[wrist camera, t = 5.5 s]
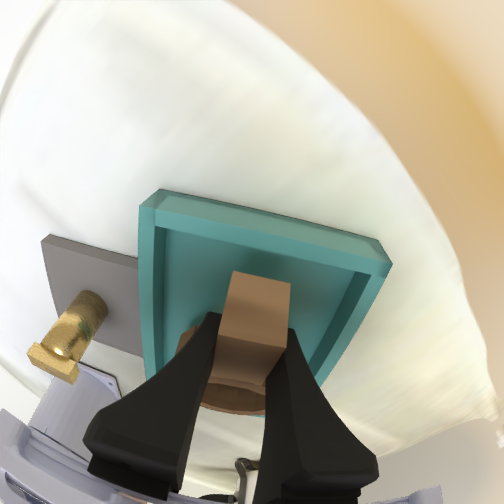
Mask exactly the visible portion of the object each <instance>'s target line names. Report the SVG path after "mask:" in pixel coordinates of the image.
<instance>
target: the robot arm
mask: <svg viewBox="0 0 504 504" xmlns="http://www.w3.org/2000/svg"><path fill="white" fill-rule="evenodd" d="M221 319H222V314H219V313H215V312H211V311H210V312H207V314H206V316H205V318H204V319H203V321H202V323H201V324H200V326H199V327H198V329H197V330H196V331H195V333H194V334H193V335H192V337H191V338H190V339H189V340H188V342H187V343H186V344H185V345H184V346H183V347H182V349H181V350H180V351H179V352H178V353H177V354H176V355H175V356H174V357H173V358H172V359H171V360H170V361H169V362H168V363H167V364H166V365H165V366H164V367H163V368H162V369H161V370H160V371H158V372H157V373H156V374H155V375H154V376H152V377H151V378H150V379H149V380H147V381H146V382H145V383H143V384H142V385H141V386H139V387H138V388H136V389H135V390H133V391H132V392H130V393H129V394H127V395H126V396H124V397H123V398H121V396H120V393H119V390H118V386H117V383H116V380H115V378H114V377H112V376H110V375H107V374H105V373H102V372H100V371H97V370H95V369H92V368H90V367H87V366H85V365H83V364H80V363H77V366H78V368H79V371H80V373H79V375H78V377H77V379H76V381H75V382H74V384H73V385H72V384H70V383H68V382H65V381H63V380H61V379H59V378H57V377H54V379H53V380H52V382H51V384H50V385H49V387H48V389H47V391H46V392H45V394H44V396H43V398H42V399H41V401H40V403H39V405H38V407H37V409H36V410H35V412H34V414H33V416H32V418H31V420H30V422H29V424H28V426H26V425H25V424H24V423H23V422H22V421H20V420H19V419H17V418H16V417H15V416H13V415H12V414H10V413H9V412H8V411H6V410H5V409H1V411H0V500H1V501H2V503H3V504H45V503H46V504H143V503H141V502H138V501H135V500H133V499H130V498H128V497H125V496H123V495H120V494H119V492H121V493H123V494H126V495H129V496H132V497H134V498H137V499H140V500H144V501H147V502H150V503H153V504H228V503H221V502H215V501H209V500H204V499H199V498H194V497H189V496H185V495H181V494H178V493H179V490H181V487H182V482H183V477H184V472H185V468H186V463H187V458H188V453H189V449H190V444H191V440H192V435H193V431H194V426H195V422H196V417H197V413H198V410H199V406H200V404H201V401H202V398H203V395H204V392H205V389H206V386H207V383H208V380H209V377H210V374H211V371H212V368H213V360H214V353H215V347H216V342H217V336H218V331H219V327H220V323H221ZM378 477H379V471H378V463H377V459H376V455H374V454H373V453H372V452H371V451H370V450H369V449H368V448H367V447H365V446H364V445H363V444H362V443H361V442H360V441H359V440H358V439H357V438H356V437H355V436H354V435H353V434H352V433H351V431H350V430H349V429H348V428H347V427H346V425H345V424H344V423H343V422H342V420H341V419H340V418H339V417H338V415H337V414H336V413H335V411H334V410H333V408H332V407H331V406H330V404H329V402H328V401H327V399H326V398H325V396H324V394H323V393H322V391H321V389H320V387H319V386H318V384H317V382H316V380H315V378H314V376H313V374H312V372H311V370H310V367H309V365H308V363H307V361H306V359H305V356H304V354H303V351H302V349H301V346H300V343H299V341H298V338H297V335H296V332H295V330H294V329H292V328H288V332H287V345H286V349H285V351H284V352H283V354H282V355H281V357H280V358H279V360H278V362H277V363H276V365H275V366H274V368H273V369H272V370H271V372H270V373H269V374H268V376H267V377H266V379H265V429H264V437H263V445H262V452H261V458H260V465H259V471H258V476H257V482H256V487H255V492H254V496H253V501H252V504H358V498H357V497H359V496H360V495H361V488H362V487H364V486H366V485H368V484H370V483H372V482H374V481H376V480H377V478H378ZM14 484H15V485H16V486H15V485H14ZM17 486H18V487H19V488H18V487H17ZM20 488H21V489H20ZM22 489H23V490H24V491H23V490H22ZM25 491H26V492H27V493H26V492H25ZM28 493H29V494H31V495H32V496H31V495H29V494H28ZM33 496H34V497H33ZM35 497H36V498H37V499H36V498H35ZM38 499H39V500H38ZM40 500H41V501H43V502H44V503H43V502H41V501H40ZM367 504H443V500H442V493H441V487H440V485H436V486H433V487H429V488H426V489H423V490H419V491H417V492H414V493H412V494H410V495H409V496H405V497H401V498H396V499H392V500H386V501H380V502H374V503H367Z"/></svg>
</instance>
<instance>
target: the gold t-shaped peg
mask: <svg viewBox="0 0 504 504" xmlns="http://www.w3.org/2000/svg"><path fill="white" fill-rule="evenodd" d="M107 315H108V307H107V305H106V303H105V302H104V300H103V299H102V298H101V297H100V296H99V295H97V294H96V293H94V292H92V291H90V290H82V291H81V292H80V293H79V294H78V295H77V296H76V298H75V299H74V300H73V301H72V302H71V304H70V305H69V306H68V307H67V309H66V310H65V311H64V313H63V314H62V315H61V316H60V318H59V319H58V320H57V322H56V323H55V324H54V325H53V327H52V328H51V329H50V331H49V332H48V333H47V335H46V336H45V338H44V339H43V340H42V342H41V343H40V344H38V343H36V342H34V344H33V345H32V347H31V348H30V349H29V351H28V352H27V355H28V357H29V359H30V361H31V363H32V364H33V365H35V366H37V367H39V368H40V369H42V370H44V371H46V372H48V373H50V374H52V375H54V376H55V377H57V378H59V379H61V380H63V381H65V382H68V383H70V384H72V385H73V384H74V382H75V381H76V379H77V377H78V375H79V373H80V371H79V368H78V366H77V363H78V362H79V360H80V358H81V357H82V355H83V353H84V352H85V350H86V349H87V347H88V345H89V344H90V342H91V341H92V339H93V337H94V336H95V334H96V333H97V331H98V329H99V328H100V326H101V325H102V323H103V322H104V320H105V319H106V317H107Z"/></svg>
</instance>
